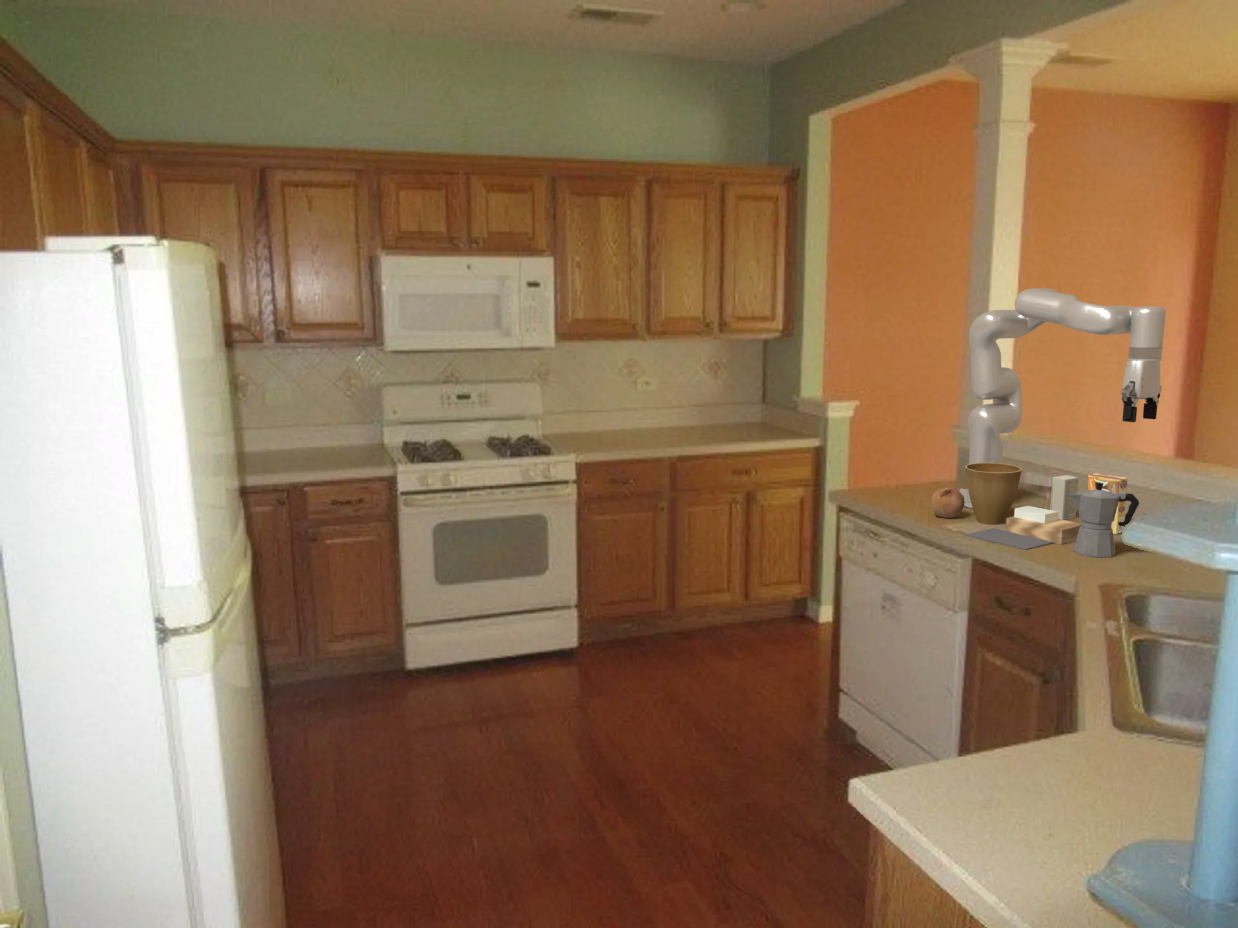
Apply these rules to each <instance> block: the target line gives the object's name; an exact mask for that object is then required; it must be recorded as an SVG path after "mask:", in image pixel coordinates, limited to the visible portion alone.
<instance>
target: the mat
mask: <svg viewBox="0 0 1238 928" xmlns="http://www.w3.org/2000/svg"><path fill="white" fill-rule="evenodd" d="M965 536H967V537H970V538H974V539H977V540H983V541H987V542H991V543H995V544H999V545H1004V546H1007V547H1013V548H1016V549H1019V550H1020V549H1021V550H1022V551H1023V550H1025V551H1028V550H1032V549H1035V548H1040V547H1043V546H1048V545H1051V544H1055V543H1054V542H1052V541H1048V540H1043V539H1039V538H1034V537H1030V536H1026V535H1021V534H1017V533H1012V532H1008V531H1006V530H1004V529H1003V530H1002V529H998V528H996V527H995V528H994V527H992V528H989V529H985V530H978V531H975V532H974V531H973V532H971V533H970V532H969V533H966V534H965Z"/></svg>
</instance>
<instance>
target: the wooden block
mask: <svg viewBox="0 0 1238 928" xmlns="http://www.w3.org/2000/svg"><path fill="white" fill-rule="evenodd" d="M1005 524H1006V527H1005V531H1008V532H1012V533H1017V534H1021V535H1026V536H1030V537H1034V538H1039V539H1043V540H1048V541H1052V542H1054V543H1053V544H1056V545H1060V546H1061V545H1066V544H1069V543H1074V542H1076V539H1077V535H1078V532H1079V528H1080V526H1081V522H1074V521H1070V520H1061V519H1058V521H1053V522H1049V523H1040V522H1035V521H1030V520H1026V519H1021V518H1016V517H1014V516H1009V517H1007V518H1006V523H1005ZM1065 543H1066V544H1065Z"/></svg>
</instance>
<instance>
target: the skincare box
mask: <svg viewBox="0 0 1238 928" xmlns="http://www.w3.org/2000/svg"><path fill="white" fill-rule="evenodd" d="M1051 479H1052V480H1051V493H1050V494H1051V495H1050V504H1049V505H1050V507H1049V510H1052V511H1057V512H1059V513H1058V519H1061V520H1065V521H1067V520H1070V519H1074V518H1076V517H1077V509H1078V507H1077V505H1076V504H1075V502H1074V500H1073V499H1072V497H1070V496H1069V494H1070V493H1075V492H1079V482H1080V480H1079V479H1080V477H1079V476H1078V477H1077V476H1073V475H1068V474H1063V475H1057V476H1053V477H1052V478H1051Z"/></svg>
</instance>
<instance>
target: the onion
mask: <svg viewBox="0 0 1238 928" xmlns="http://www.w3.org/2000/svg"><path fill="white" fill-rule="evenodd" d="M964 502H965V501H964V496H963V495H962V494H961V493H960V492H959V490H958V489H956V488H952V487H944V488H939V489H937V490H936V491H935V492H934V493H933V494H932V497H931V498H930V507H931V510H932V511H933V514H934V515H936V516H937V517H940V518H944V519H954V518H955V517H956V516H958V515H959V514H961V512H962V511H963V509H964V507H965V506H964Z"/></svg>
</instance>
